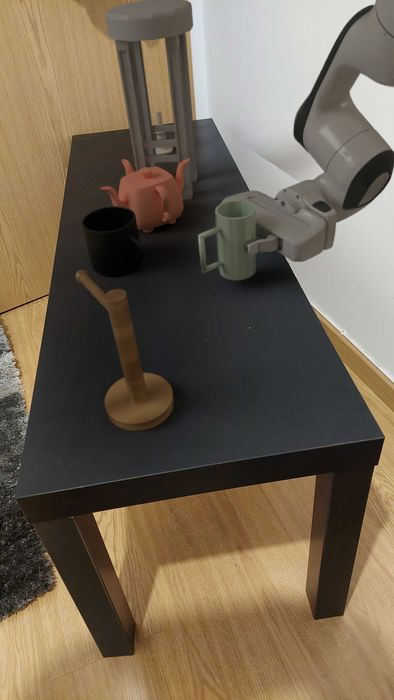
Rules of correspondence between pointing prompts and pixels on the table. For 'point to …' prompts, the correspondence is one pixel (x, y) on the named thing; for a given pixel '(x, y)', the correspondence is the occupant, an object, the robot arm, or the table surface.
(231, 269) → the cup
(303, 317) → the table surface
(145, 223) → the teapot
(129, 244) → the mug
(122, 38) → the stool
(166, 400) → the mug stand
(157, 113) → the candle
